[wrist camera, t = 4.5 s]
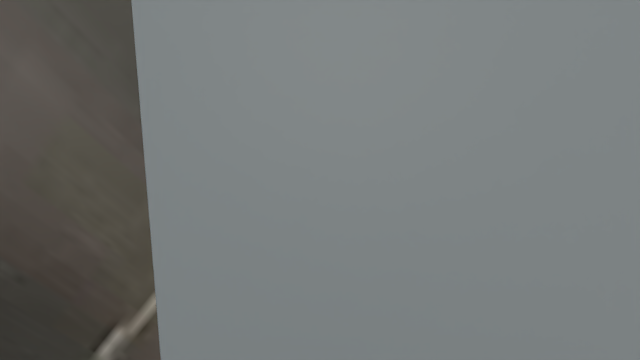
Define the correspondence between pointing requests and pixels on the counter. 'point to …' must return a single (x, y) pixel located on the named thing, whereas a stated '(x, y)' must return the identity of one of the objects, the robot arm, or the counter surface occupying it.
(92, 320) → the counter surface
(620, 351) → the slotted plate
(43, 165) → the counter surface
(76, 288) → the counter surface
